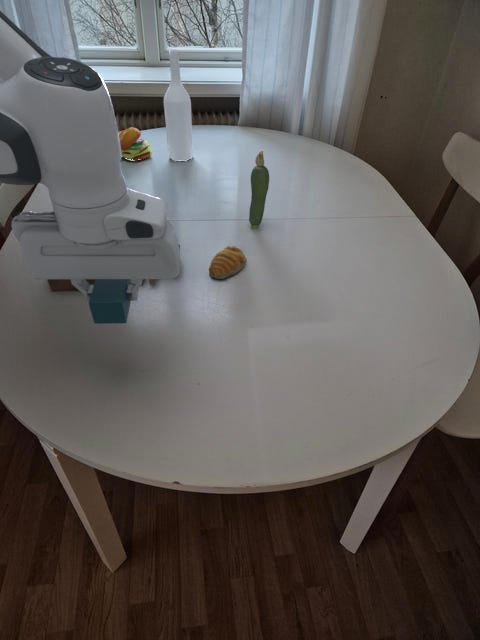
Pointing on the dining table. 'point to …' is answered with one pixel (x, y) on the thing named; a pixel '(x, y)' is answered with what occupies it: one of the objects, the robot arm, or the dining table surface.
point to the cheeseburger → (133, 144)
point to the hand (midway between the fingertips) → (112, 298)
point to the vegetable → (258, 191)
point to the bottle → (178, 114)
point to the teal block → (109, 301)
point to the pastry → (227, 262)
